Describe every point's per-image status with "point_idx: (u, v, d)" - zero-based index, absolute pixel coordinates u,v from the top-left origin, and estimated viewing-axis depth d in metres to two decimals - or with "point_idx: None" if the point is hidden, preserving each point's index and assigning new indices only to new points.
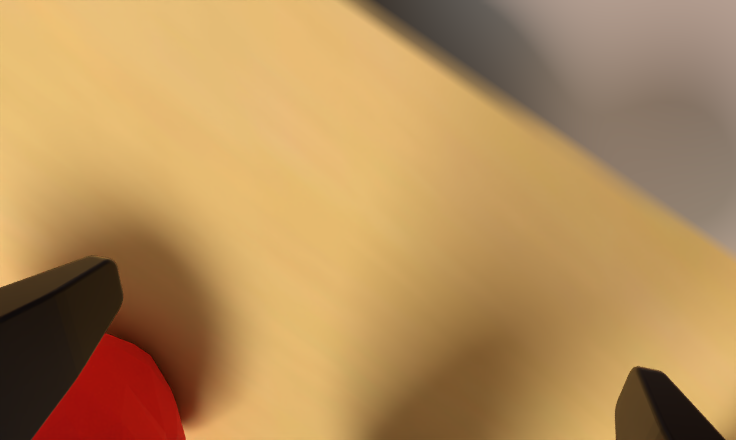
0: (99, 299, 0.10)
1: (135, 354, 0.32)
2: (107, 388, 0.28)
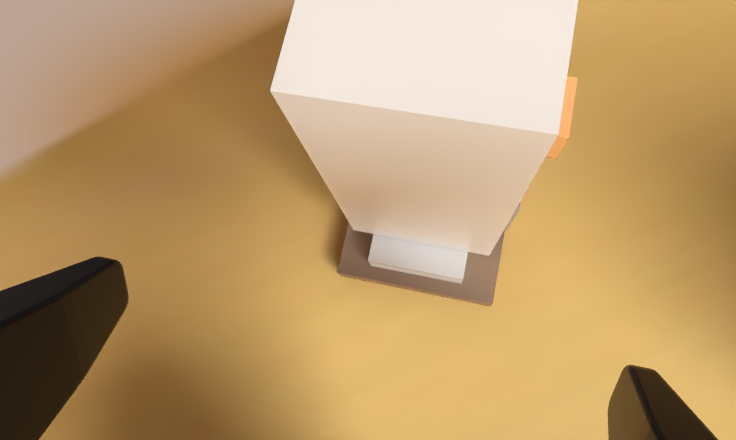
0: (105, 300, 0.10)
1: None
2: None
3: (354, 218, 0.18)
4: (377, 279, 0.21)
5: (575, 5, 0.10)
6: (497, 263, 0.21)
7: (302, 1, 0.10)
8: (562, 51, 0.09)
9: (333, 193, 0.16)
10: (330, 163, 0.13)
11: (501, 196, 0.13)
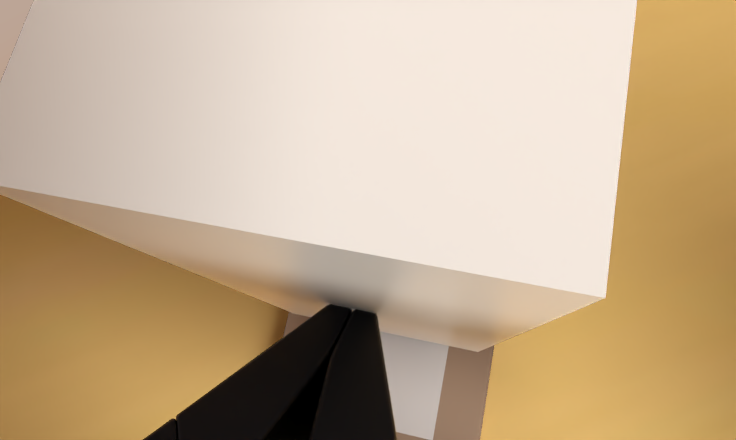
0: None
1: None
2: None
3: (285, 307, 0.13)
4: None
5: None
6: (482, 405, 0.15)
7: None
8: (608, 89, 0.04)
9: (236, 289, 0.10)
10: (196, 267, 0.08)
11: (483, 326, 0.07)
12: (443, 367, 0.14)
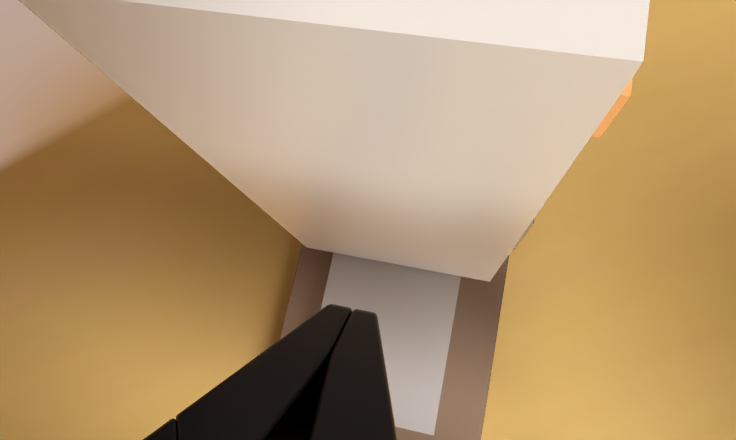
0: None
1: None
2: None
3: (300, 233, 0.13)
4: None
5: None
6: (484, 400, 0.15)
7: None
8: None
9: (253, 199, 0.11)
10: (219, 151, 0.08)
11: (505, 203, 0.07)
12: (444, 361, 0.14)
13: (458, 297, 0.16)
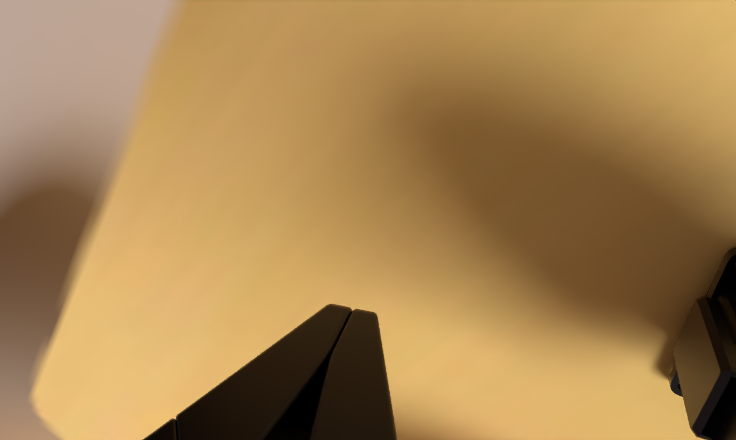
0: None
1: None
2: None
3: None
4: None
5: None
6: None
7: None
8: None
9: None
10: None
11: None
12: None
13: None
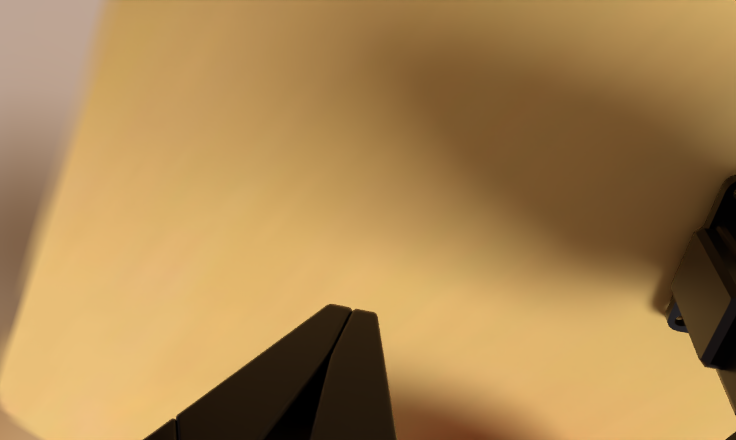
0: None
1: None
2: None
3: None
4: None
5: None
6: None
7: None
8: None
9: None
10: None
11: None
12: None
13: None
